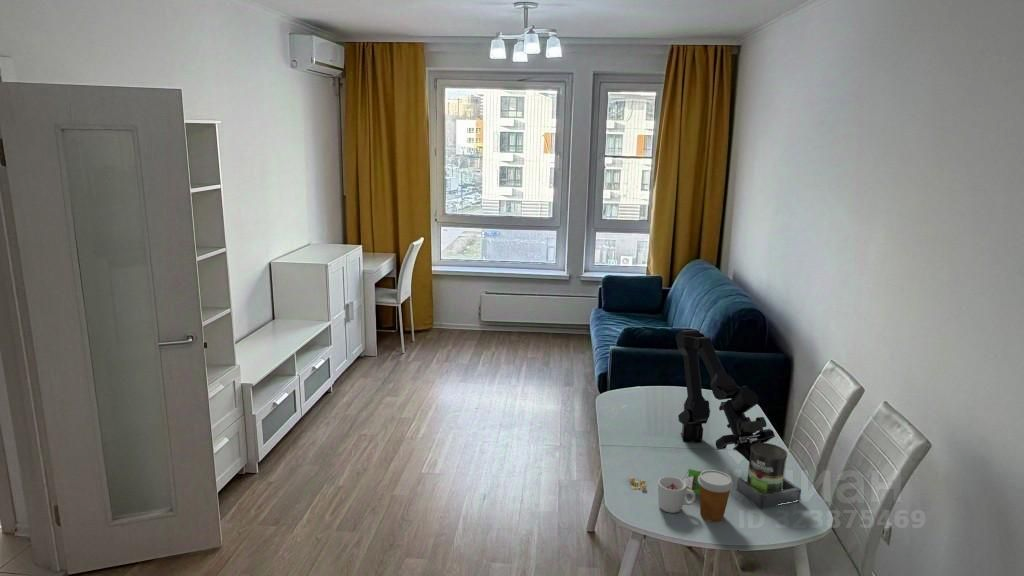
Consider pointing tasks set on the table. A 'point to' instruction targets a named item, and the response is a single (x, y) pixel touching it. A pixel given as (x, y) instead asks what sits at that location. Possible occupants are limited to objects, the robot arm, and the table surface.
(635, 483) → the dice set
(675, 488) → the cup
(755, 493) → the grey shallow tray
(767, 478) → the coffee can
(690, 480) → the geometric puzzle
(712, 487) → the disposable coffee cup
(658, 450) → the table surface
